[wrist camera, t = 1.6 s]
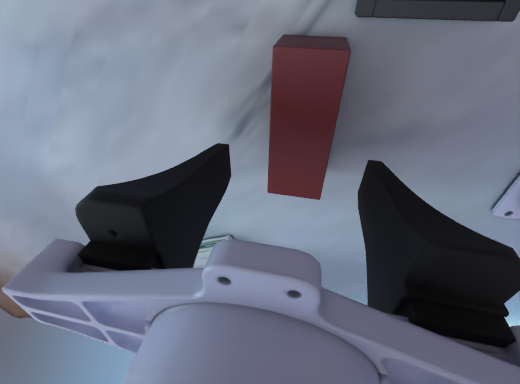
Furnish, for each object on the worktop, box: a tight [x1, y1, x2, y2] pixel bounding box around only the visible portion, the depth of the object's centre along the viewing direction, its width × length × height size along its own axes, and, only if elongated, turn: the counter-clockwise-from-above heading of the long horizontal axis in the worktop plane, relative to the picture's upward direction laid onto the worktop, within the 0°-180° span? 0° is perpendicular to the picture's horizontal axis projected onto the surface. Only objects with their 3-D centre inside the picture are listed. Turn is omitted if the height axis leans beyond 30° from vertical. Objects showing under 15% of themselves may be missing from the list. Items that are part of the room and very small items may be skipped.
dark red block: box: [268, 35, 351, 200], centre depth 18 cm, size 4×10×4 cm, turn 0°
